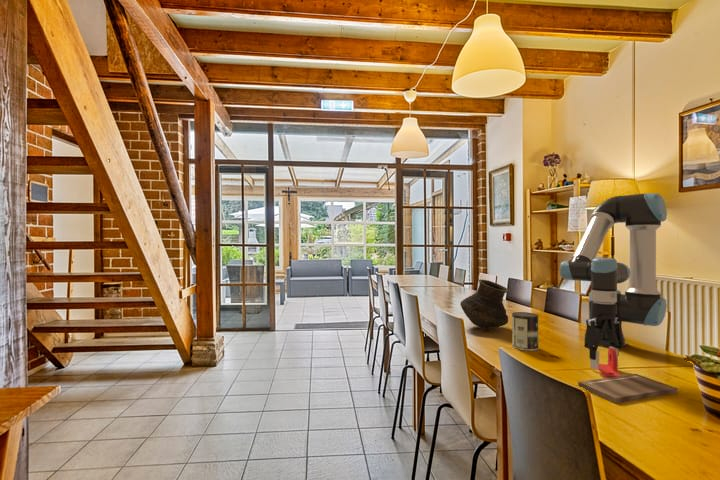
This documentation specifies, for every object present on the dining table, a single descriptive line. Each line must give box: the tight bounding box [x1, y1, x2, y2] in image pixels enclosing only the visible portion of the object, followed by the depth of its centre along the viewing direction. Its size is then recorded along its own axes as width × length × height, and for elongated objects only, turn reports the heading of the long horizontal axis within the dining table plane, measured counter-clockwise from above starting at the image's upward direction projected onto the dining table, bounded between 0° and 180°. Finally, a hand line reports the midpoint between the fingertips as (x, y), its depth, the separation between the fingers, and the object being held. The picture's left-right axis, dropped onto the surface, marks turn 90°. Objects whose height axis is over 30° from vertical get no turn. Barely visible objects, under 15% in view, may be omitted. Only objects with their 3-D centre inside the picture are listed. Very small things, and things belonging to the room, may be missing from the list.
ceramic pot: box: [460, 279, 509, 329], centre depth 186 cm, size 24×24×22 cm
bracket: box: [598, 347, 622, 378], centre depth 123 cm, size 12×4×8 cm, turn 158°
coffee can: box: [511, 311, 539, 352], centre depth 153 cm, size 10×10×14 cm
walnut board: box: [577, 373, 678, 404], centre depth 109 cm, size 24×12×2 cm, turn 106°
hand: (604, 367), depth 126 cm, fingers open, 8 cm apart
